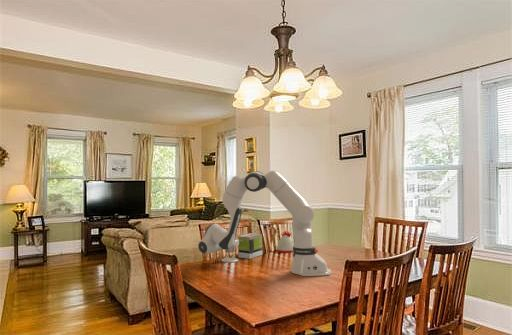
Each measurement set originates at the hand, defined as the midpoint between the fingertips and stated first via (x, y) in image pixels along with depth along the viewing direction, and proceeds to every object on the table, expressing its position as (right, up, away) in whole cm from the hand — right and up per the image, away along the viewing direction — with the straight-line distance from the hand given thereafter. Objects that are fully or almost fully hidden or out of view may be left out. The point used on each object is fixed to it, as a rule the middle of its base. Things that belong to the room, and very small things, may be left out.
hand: (230, 239), depth 225 cm
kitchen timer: (+39, -14, +29) cm, 51 cm away
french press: (0, -7, 0) cm, 7 cm away
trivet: (0, -13, -1) cm, 13 cm away
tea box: (+13, -14, +12) cm, 22 cm away
